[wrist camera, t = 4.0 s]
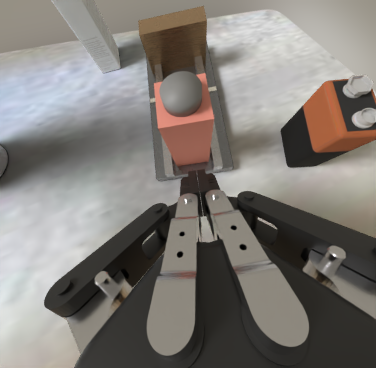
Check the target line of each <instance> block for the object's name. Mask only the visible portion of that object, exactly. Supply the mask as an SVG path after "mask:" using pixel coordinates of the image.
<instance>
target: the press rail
mask: <svg viewBox="0 0 376 368" xmlns="http://www.w3.org/2000/svg"><path fill="white" fill-rule="evenodd" d="M138 22H139V35H140V38H141V41H142V44H143V47H144V50H145V53H146V59H147V71H148V83H149V96H150V108H151V120H152V132H153V144H154V157H155V169H156V179H157V180H158V181H163V180H170V179H177V178H183V177H188V171H193V170H196V173H197V170H200V169H205V172H206V174H209V173H216V172H223V171H230V170H232V169H233V163H232V158H231V154H230V149H229V144H228V140H227V135H226V130H225V125H224V121H223V116H222V111H221V107H220V102H219V97H218V93H217V88H216V83H215V79H214V74H213V69H212V64H211V60H210V55H209V50H208V46H207V41H206V30H207V19H206V15H205V11H204V6H202V7H197V8H193V9H188V10H184V11H179V12H175V13H171V14H166V15H162V16H157V17H153V18H149V19H144V20H140V21H138ZM179 71H187V72H191V73H193V74H195V75H198V74H203V73H205V74H206V79H207V85H208V90H209V95H210V100H211V105H212V110H213V115H214V124H213V132H212V140H211V148H210V156H209V161H208V162H201V163H195V164H189V165H182V166H177V165H176V163H175V161H174V159H173V157H172V155H171V153H170V151H169V149H168V147H167V145H166V143H165V141H164V139H163V137H162V135H161V134H160V132H159V130H158V123H157V112H156V101H155V90H154V83H157V82H163V80H164V79H165V78H166V77H167V76H169V75H170V74H172V73H175V72H179Z"/></svg>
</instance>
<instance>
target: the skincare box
mask: <svg viewBox="0 0 376 368" xmlns="http://www.w3.org/2000/svg"><path fill="white" fill-rule="evenodd" d="M51 1H52V2H53V4H54V5H55V6H56V8H57V9H58V10H59V12H60V13H61V15H62V16H63V18H64V19H65V21H66V22H67V23H68V25H69V26H70V28H71V29H72V30H73V32H74V33H75V35H76V36H77V37H78V39H79V40H80V42H81V43H82V45H83V46H84V47H85V49H86V50H87V52H88V53H89V54H90V56H91V57H92V59H93V60H94V61H95V63H96V64H97V66H98V67H99V69H100V70H101V71H102V73H106V72H110V71H113V70H117V69H120V68H121V66H120V59H119V51H118V46H117V45H116V43H115V41H114V39H113V37H112V35H111V33H110V31H109V29H108V27H107V25H106V23H105V21H104V19H103V17H102V15H101V13H100V11H99V9H98V7H97V5H96V3H95V1H94V0H51Z"/></svg>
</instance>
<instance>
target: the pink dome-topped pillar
mask: <svg viewBox="0 0 376 368" xmlns="http://www.w3.org/2000/svg"><path fill="white" fill-rule="evenodd" d="M154 90H155V101H156V112H157V123H158V130H159V132H160V134H161V135H162V137H163V139H164V141H165V143H166V145H167V147H168V149H169V151H170V153H171V155H172V157H173V159H174V161H175V163H176V165H177V166H182V165H189V164H195V163H201V162H208V161H209V156H210V148H211V140H212V132H213V124H214V115H213V110H212V105H211V100H210V95H209V90H208V85H207V79H206V74H205V73H203V74H198V75H195V74H193V73H191V72H187V71H179V72H175V73H172V74H170V75H169V76H167V77H166V78H165V79H164V80H163V82H157V83H154Z"/></svg>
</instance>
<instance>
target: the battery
mask: <svg viewBox="0 0 376 368" xmlns="http://www.w3.org/2000/svg"><path fill="white" fill-rule="evenodd" d="M373 83H374V82H373V81H372V80H371V79H370V78H369V77H367V76H366V75H365V74H363V75H353V76H352V77H350V78H349V79H342V80H331V81H326V82H324V83H323V84H322V86H321V87H320V88H319V89H318V90H317V91H316V92H315V93H314V94H313V95H312V96H311V97H310V99H309V100H308V101H307V102H306V103H305V104H304V105H303V106H302V107H301V108H300V109H299V110H298V112H297V113H296V114H295V115H294V116H293V117H292V118H291V119H290V120H289V121H288V122H287V123H286V125H285V126H284V127H283V128H282V129H281V135H282V141H283V146H284V152H285V157H286V163H287V166H288V167H305V166H316V165H319V164H321V163H323V162H326V161H328V160H330V159H332V158H335V157H337V156H339V155H342V154H344V153H346V152H348V151H351V150H353V149H355V148H358V147H360V146H362V145H365V144H367V143H369V142H371V141H374V140H376V98H375V95H374V92H373V89H372V86H373Z"/></svg>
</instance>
